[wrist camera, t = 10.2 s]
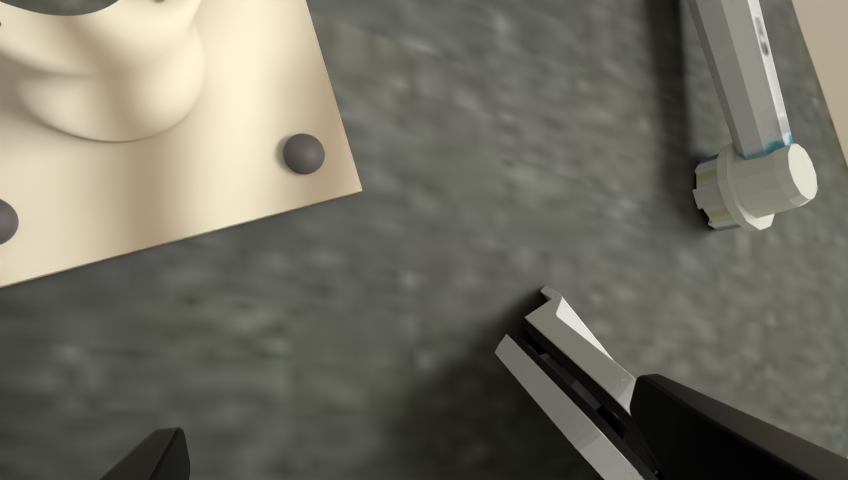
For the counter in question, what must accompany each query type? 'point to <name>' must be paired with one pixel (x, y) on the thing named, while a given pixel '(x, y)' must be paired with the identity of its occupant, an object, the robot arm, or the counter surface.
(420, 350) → the counter surface
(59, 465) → the counter surface
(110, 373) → the counter surface
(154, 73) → the metal tumbler
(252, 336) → the counter surface
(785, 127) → the grey long bar
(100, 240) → the bolt plate
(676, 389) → the robot arm
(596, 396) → the white layered curved block
